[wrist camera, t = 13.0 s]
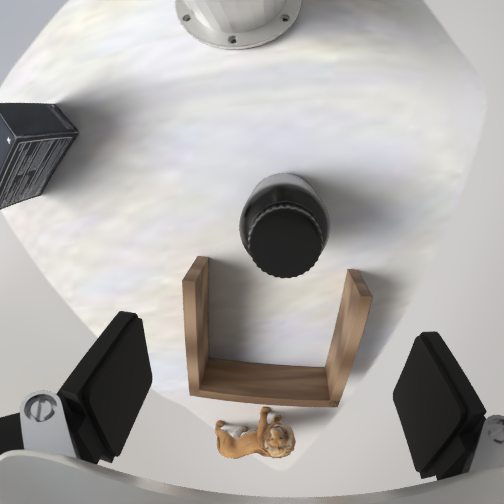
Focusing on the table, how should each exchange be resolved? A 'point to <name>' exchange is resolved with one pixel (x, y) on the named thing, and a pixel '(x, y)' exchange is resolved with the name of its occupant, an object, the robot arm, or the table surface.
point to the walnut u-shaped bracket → (266, 375)
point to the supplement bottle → (284, 226)
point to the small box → (30, 148)
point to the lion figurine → (257, 439)
